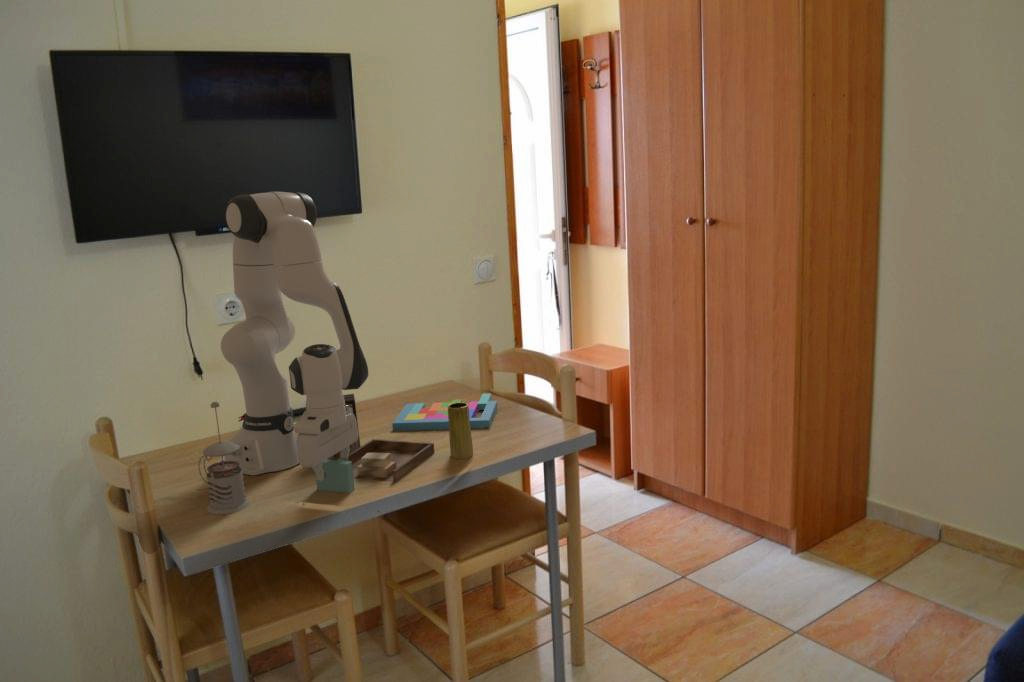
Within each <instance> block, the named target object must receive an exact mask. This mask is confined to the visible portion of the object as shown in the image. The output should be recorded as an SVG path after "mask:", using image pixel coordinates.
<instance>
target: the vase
mask: <svg viewBox="0 0 1024 682" xmlns="http://www.w3.org/2000/svg"><path fill="white" fill-rule="evenodd" d="M468 404H469V403H467V402H463V401H462V402H457V403H452V404H449V405H448V419H449V429H448V430H449V431H448V433H449V434H448V435H449V447H450V451H449V452H450V458H452V459H454V460H464V459H469V458H471V457H472V456H474V449H473V440H472V439H473V437H472V429H471V428H470V418H469V407H468Z"/></svg>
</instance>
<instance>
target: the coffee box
mask: <svg viewBox="0 0 1024 682" xmlns="http://www.w3.org/2000/svg"><path fill="white" fill-rule="evenodd" d="M343 397H344V399H345V405H348V406H350V407H351V408H352V411H353V414H354V415H355V418H356V422H357V427H358V428H359V423H358V414H357V405H356V398H355V394H354V393H350V394H343ZM359 431H360V429H358V433H359V434H360V432H359ZM360 438H361V437H360V435H359V436H358V440H357V441H356V442H354V443H353V444H351V445H350V451H349V454H350V453H352V452H353V451H355V450H356V449H358V448H360V447H361V446H362V445H361V439H360ZM340 453H341V451H340V452H338V453H336V454H335V455H333V456H332V457H330V458H328V459H327V460H335V459H339V458H340Z"/></svg>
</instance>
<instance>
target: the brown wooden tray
mask: <svg viewBox="0 0 1024 682" xmlns="http://www.w3.org/2000/svg"><path fill="white" fill-rule="evenodd" d="M360 446H361V447H360V448H358V449H356V450H355V451H353V452H352V453H350V454H349V455H348V461H352V469H353V479H359V480H369V481H381V482H391V483H396V482H397V481H399V480H400V479H402V478H403V477H404V476H406V475H407V474H408V473H409V472H411V471H412V470H414V469H415V468H416V467H417V466H418V465H420V464H421V463H423V462H424V461H425V460H427V459H428V458H429V457H430V456H432V455H433V454H434V453H435V443H434V442H424V441H410V440H409V441H408V440H407V441H406V440H394V439H393V440H392V439H378V438H372V439H371V440H369V441H367V442H366V443H364V444H363V445H360ZM367 453H390V455H391V462H396V467H397V468H396V469H395V470H393V473H392V474H391V475H390V476H388V477H387V478H385V477H373V476H362V475H358V470H357V466H359V465H360V464H362V462H361V458H362V457H363V456H364V455H365V454H367Z"/></svg>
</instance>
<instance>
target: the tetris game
mask: <svg viewBox="0 0 1024 682" xmlns="http://www.w3.org/2000/svg"><path fill="white" fill-rule="evenodd" d="M492 399H493V398H492V393H482V394H481V396H480V399H479V400H477V401H475V400H474V401H469V403H467V404H468V407H469V418H470V428H472V429H484V428H483V427H490V428H491V426H492V423H491V422H493V421H492V419H493V420H494V418H493V417H495V416H494V414H495V415H496V413H497V411H496V409H497V410H498V408H497V407H498V400H492ZM491 400H492V401H491ZM457 402H463V399H461V398H460V399H452V401H447V402H444V401H443V402H433V403H432V405H431V406H430V407H426V403H425V402H418V403H417V402H416V403H415V402H414V403H406V404H405V406H404V407H403V408H402V410H400V412H399V414H398V415H397V416H396V417H395V419H394V420H393V421H392V423H391V424H392V425H391V426H392V431H393V432H394V431H395V432H396V431H398V432H399V431H400V430H401V431H402V430H403V431H427V430H428V431H431V430H432V431H434V430H449V419H448V405H449V404H452V403H457ZM478 410H484V411H482V414H481V416H480V417H477V415H478V413H479V411H478ZM477 412H478V413H477ZM495 412H496V413H495ZM476 414H477V415H476ZM475 416H476V417H475ZM490 425H491V426H490Z"/></svg>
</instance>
